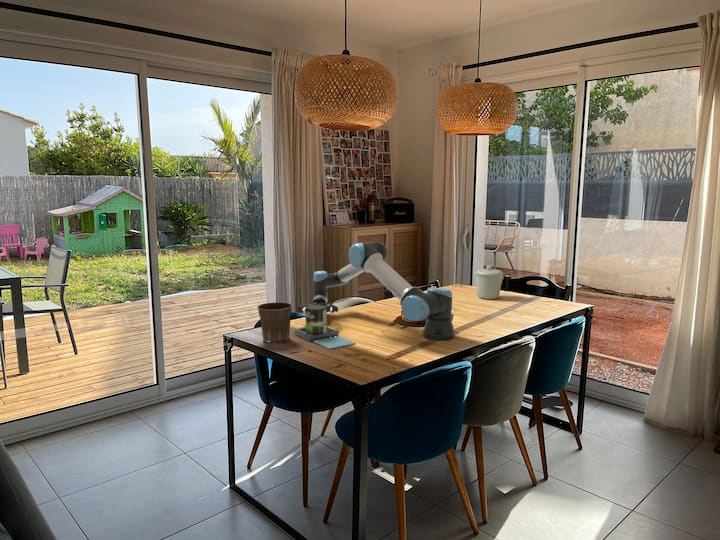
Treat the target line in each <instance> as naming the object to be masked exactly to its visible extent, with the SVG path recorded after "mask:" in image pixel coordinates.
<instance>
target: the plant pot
mask: <svg viewBox="0 0 720 540" xmlns="http://www.w3.org/2000/svg"><path fill="white" fill-rule="evenodd" d="M256 308H257V310H258V311H257V312H258V315H259V318H260V319H259V320H260V324H261V325H260V327H261V333H262V340H263V339H264V340H266V341H270V342H277V343H280V342H282V341H284V342H287V341H289V339H290V335H291V334H290V333H291V332H290V331H291V316H292V308H293V304H292V303H290V302H281V301H280V302H279V301H278V302H266V303H262V304H259V305H257V307H256ZM264 340H263V341H264ZM286 340H287V341H286Z"/></svg>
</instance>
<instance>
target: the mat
mask: <svg viewBox="0 0 720 540" xmlns="http://www.w3.org/2000/svg"><path fill="white" fill-rule="evenodd" d="M312 343H314V344H317V345H318V344H319V345H318V346H320V345H321V347H323V348H325V349H327V350H329V349H330V350H334V349H339V348H343V346H344V347H348V345H349V346H352V345H353V344H354V345H356V342H354V341H351V340H349V339H347V338H344V337H342V336H340V335H338V336H336V337H331V338H326V339H320V340H315V341H312ZM338 347H339V348H338ZM333 348H334V349H333Z"/></svg>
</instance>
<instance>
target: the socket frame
mask: <svg viewBox="0 0 720 540" xmlns="http://www.w3.org/2000/svg"><path fill="white" fill-rule="evenodd" d="M293 331H294V332H293V333H295V334H296V336H297V335H298V337H299V336H300V337H299V338H301V337H302V339H304V340H305V341H308V342H310V343H311V342H313V341H315V340H320V339H325V338H330V337H335V336H339V331H338V330H336V329H334V328H331V327H328V326H327V332H326V333H321V334H315V335H310V334H308V333H306V326H304V327H300V328H295V329H294V330H293ZM295 334H294V335H295Z"/></svg>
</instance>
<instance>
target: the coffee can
mask: <svg viewBox="0 0 720 540" xmlns="http://www.w3.org/2000/svg"><path fill="white" fill-rule="evenodd" d="M326 309H327V306H325V305H311V304H309V305H308V306H306V307H305V315H304V316H305V327H306V333H308V334H310V335H315V334H321V333H326V332H327V327H328V326H327V322H328V321H327V315H328V314H327V313H328V311H327V310H326Z"/></svg>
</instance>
